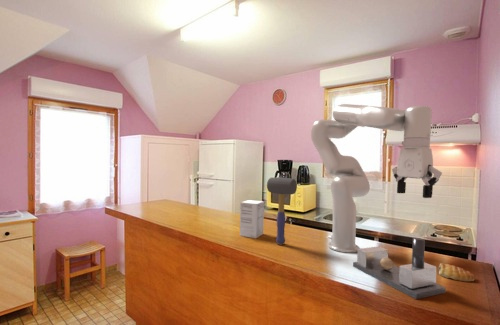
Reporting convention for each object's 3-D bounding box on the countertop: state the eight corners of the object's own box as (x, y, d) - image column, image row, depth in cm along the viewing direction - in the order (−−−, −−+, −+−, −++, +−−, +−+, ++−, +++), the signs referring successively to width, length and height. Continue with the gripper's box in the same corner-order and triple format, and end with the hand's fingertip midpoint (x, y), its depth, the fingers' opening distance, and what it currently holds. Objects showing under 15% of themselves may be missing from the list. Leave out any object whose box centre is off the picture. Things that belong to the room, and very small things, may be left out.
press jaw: (399, 282, 78) (400, 238, 78) (423, 278, 82) (423, 236, 82) (411, 288, 75) (412, 242, 75) (436, 283, 78) (437, 239, 78)
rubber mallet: (264, 243, 120) (265, 177, 120) (272, 239, 126) (273, 176, 126) (289, 249, 113) (291, 178, 113) (296, 244, 119) (298, 177, 119)
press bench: (352, 266, 95) (353, 248, 95) (378, 262, 99) (378, 245, 99) (415, 299, 72) (416, 275, 72) (445, 292, 77) (445, 270, 77)
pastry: (472, 277, 88) (472, 265, 88) (476, 285, 83) (476, 273, 83) (437, 271, 93) (437, 260, 93) (439, 278, 87) (439, 266, 87)
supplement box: (247, 231, 140) (248, 199, 140) (263, 233, 136) (264, 201, 136) (239, 235, 131) (239, 201, 131) (256, 238, 127) (257, 203, 127)
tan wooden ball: (377, 268, 90) (377, 256, 90) (386, 267, 91) (386, 255, 91) (387, 273, 86) (387, 260, 86) (396, 271, 87) (396, 259, 87)
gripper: (386, 144, 95) (384, 191, 96) (433, 142, 79) (429, 200, 79) (402, 145, 98) (400, 191, 98) (451, 144, 81) (447, 199, 82)
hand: (413, 195), depth 89 cm, fingers open, 9 cm apart
